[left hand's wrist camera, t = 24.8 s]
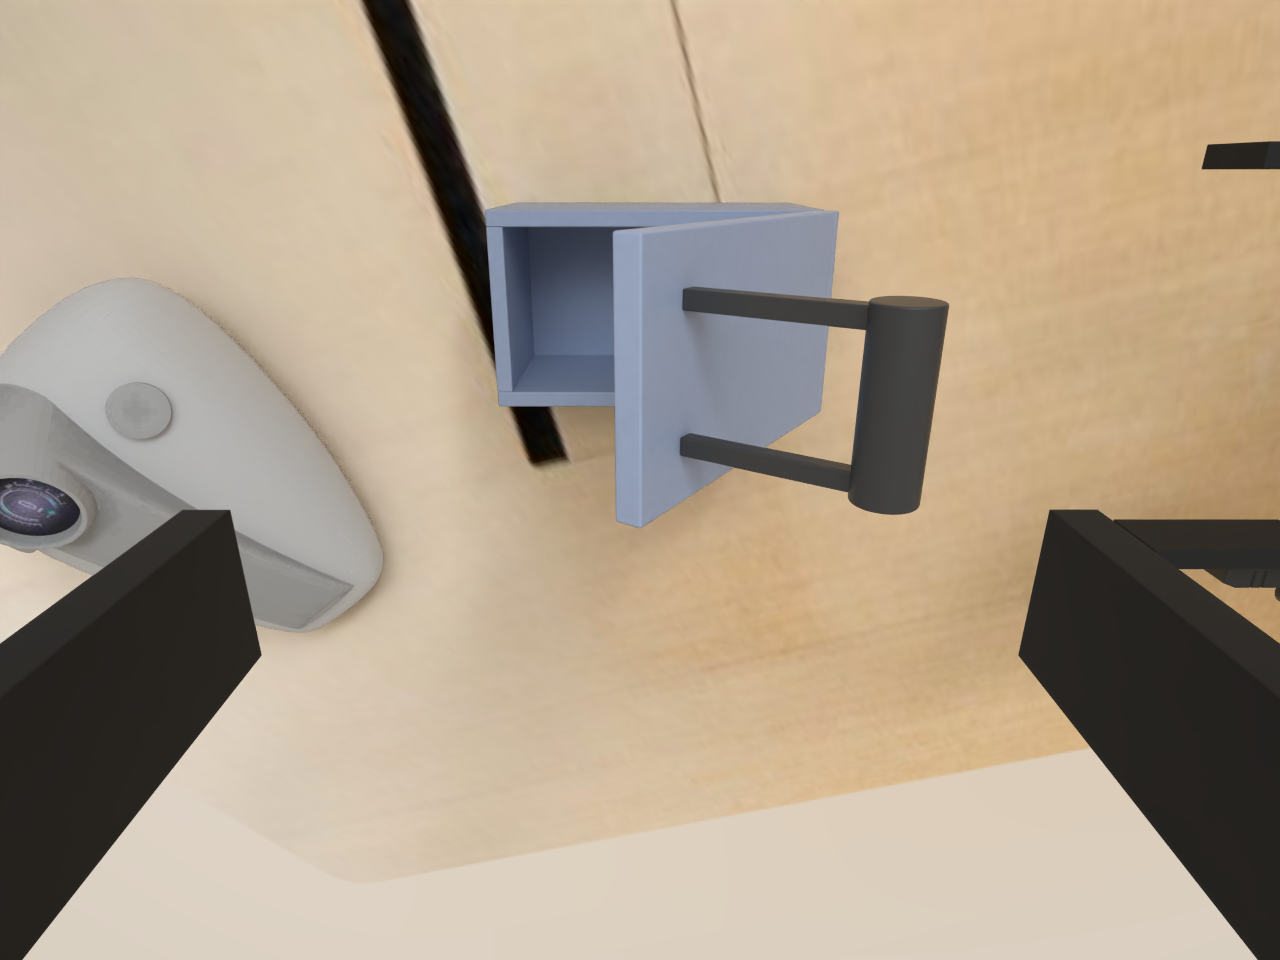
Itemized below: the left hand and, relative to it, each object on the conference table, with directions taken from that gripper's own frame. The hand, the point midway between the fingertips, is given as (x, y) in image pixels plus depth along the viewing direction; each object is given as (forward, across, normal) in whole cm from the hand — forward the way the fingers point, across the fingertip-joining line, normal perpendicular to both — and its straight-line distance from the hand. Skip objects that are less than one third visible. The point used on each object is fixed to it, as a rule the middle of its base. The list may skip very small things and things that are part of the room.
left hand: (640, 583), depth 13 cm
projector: (+36, -26, -11) cm, 46 cm away
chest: (+36, +1, 0) cm, 36 cm away
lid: (+19, +4, 0) cm, 20 cm away
